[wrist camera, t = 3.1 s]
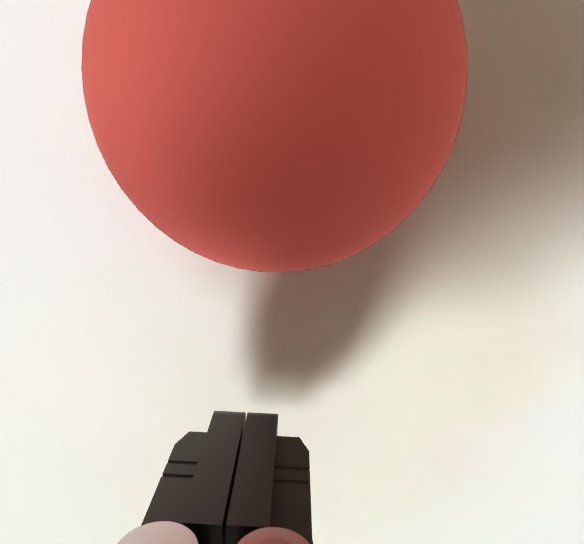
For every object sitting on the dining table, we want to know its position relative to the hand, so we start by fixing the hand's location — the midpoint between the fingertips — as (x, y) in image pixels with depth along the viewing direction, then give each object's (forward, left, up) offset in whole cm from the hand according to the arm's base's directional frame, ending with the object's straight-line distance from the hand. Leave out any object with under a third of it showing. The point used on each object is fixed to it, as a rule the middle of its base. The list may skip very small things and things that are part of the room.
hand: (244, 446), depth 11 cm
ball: (0, -8, +1) cm, 8 cm away
